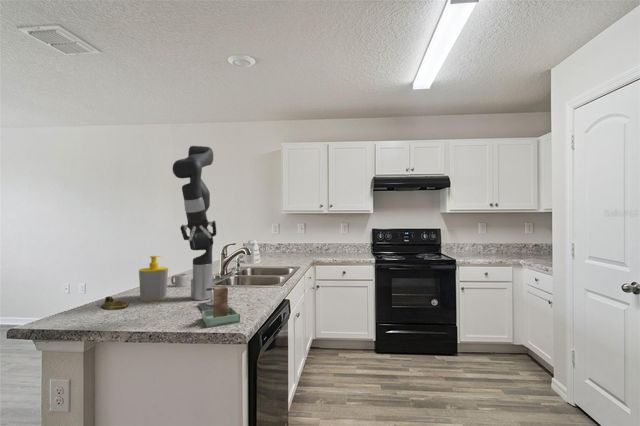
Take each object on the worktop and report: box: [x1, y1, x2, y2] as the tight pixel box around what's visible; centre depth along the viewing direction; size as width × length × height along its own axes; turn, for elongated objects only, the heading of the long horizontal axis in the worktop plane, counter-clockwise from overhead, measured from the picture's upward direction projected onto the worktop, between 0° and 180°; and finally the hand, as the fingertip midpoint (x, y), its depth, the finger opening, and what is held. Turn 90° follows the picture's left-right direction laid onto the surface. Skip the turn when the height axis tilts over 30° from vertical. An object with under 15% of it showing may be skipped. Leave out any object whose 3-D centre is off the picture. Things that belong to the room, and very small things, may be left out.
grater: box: [244, 240, 262, 265], centre depth 286 cm, size 10×10×20 cm
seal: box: [100, 296, 130, 311], centre depth 145 cm, size 9×5×15 cm
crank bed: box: [197, 287, 230, 312], centre depth 141 cm, size 11×16×8 cm
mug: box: [170, 273, 188, 288], centre depth 189 cm, size 10×7×7 cm
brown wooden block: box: [212, 285, 229, 318], centre depth 124 cm, size 4×4×12 cm
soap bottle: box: [138, 255, 169, 302], centre depth 160 cm, size 13×13×21 cm
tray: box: [201, 306, 241, 329], centre depth 124 cm, size 12×12×3 cm
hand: (202, 246), depth 134 cm, fingers open, 6 cm apart
